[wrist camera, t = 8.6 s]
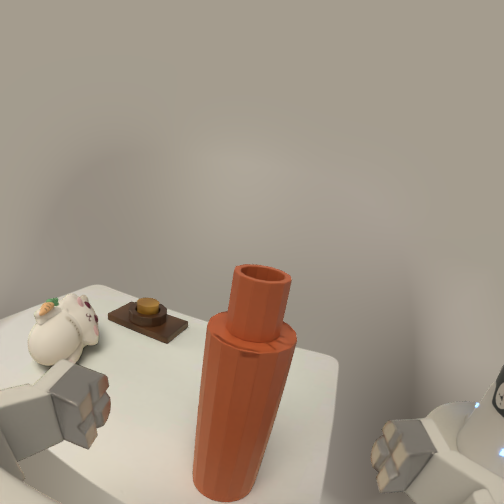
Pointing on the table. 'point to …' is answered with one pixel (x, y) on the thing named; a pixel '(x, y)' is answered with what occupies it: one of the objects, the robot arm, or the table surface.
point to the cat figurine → (63, 330)
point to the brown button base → (149, 322)
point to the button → (147, 306)
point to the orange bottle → (242, 382)
